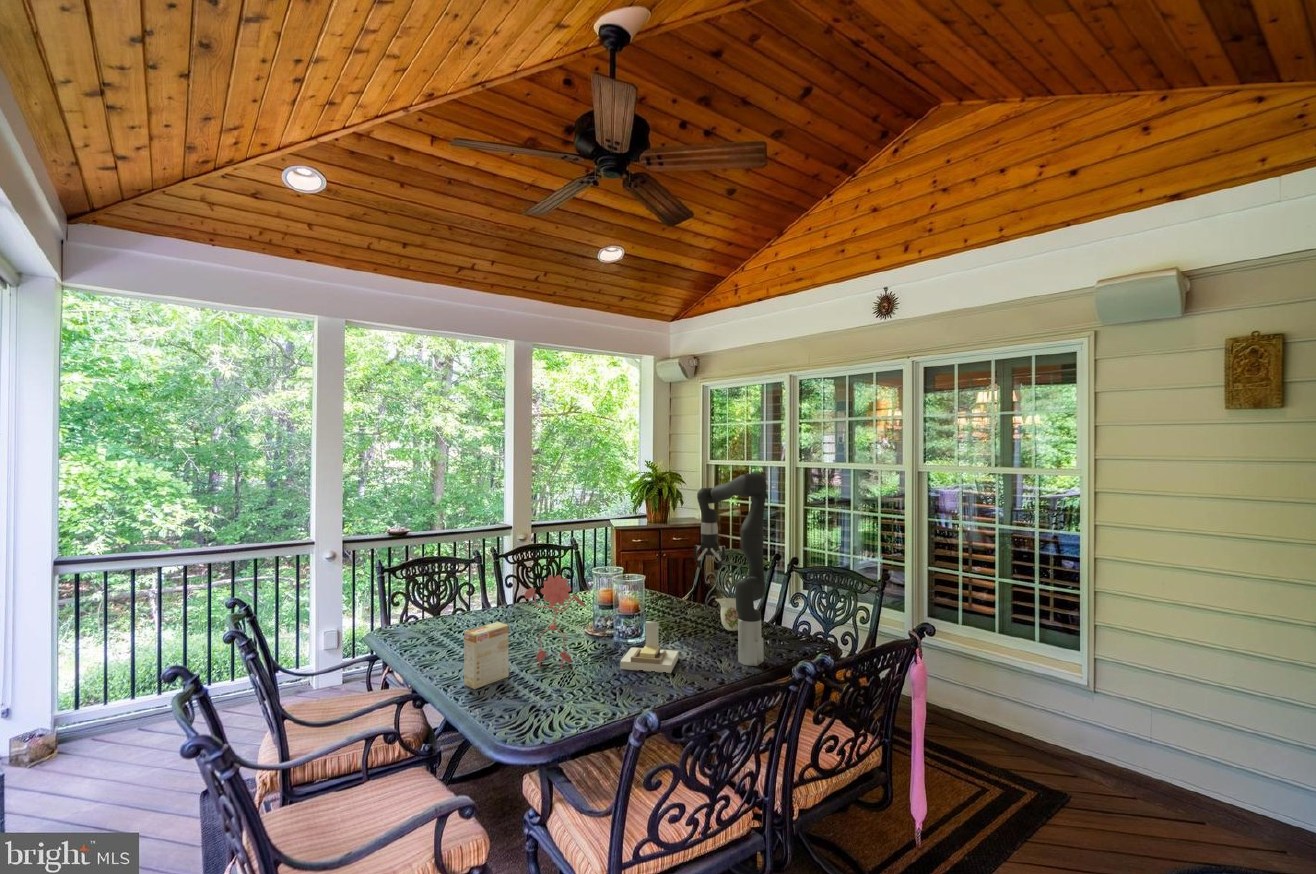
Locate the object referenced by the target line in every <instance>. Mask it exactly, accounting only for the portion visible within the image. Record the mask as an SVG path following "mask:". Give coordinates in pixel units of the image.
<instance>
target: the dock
mask: <svg viewBox="0 0 1316 874" xmlns="http://www.w3.org/2000/svg"><path fill="white" fill-rule="evenodd" d="M643 648H644V647H636V646H635V647H634V646H631V647H630V648H629V650H628V651H627V652H626V653H625V655H624V656H623V657H622V659H621V660H620V663H619V664H620V666H619V667H620V668H619V669H620V670H629V671H639V670H643V671H642V672H651V671H655V672H654V673H663V672H666V674H672V672H673V670H674V668H675V667H676V664H677V662H678V661H679V659H680V655H679V654H680V651H679V650H674V649H661V648H660V654H657V655H656V656H657V657H656V658H645V657H639V655H640V652H641V650H642V649H643ZM678 658H679V659H678Z"/></svg>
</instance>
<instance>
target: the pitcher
mask: <svg viewBox="0 0 1316 874" xmlns="http://www.w3.org/2000/svg"><path fill="white" fill-rule="evenodd" d="M715 601H716V602H718V604H719V605H720V620H721V624H722V626H723V627H724V629H725V630H727V631H729V632H735V631H737V632H738V613H737V610H736V599H735V598H734V597H724V598H715Z"/></svg>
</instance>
